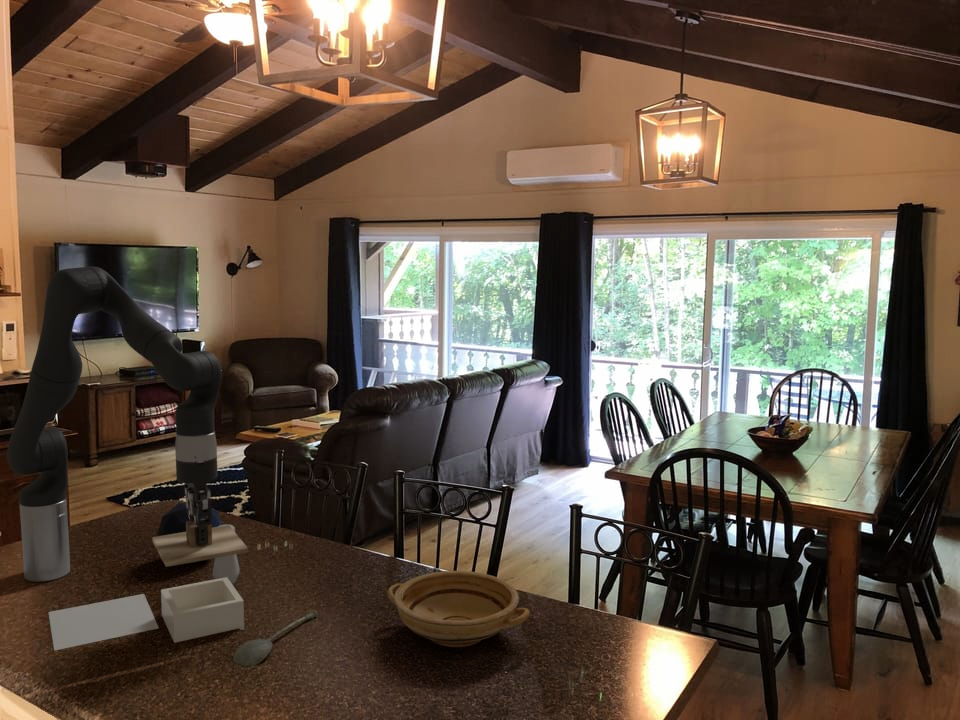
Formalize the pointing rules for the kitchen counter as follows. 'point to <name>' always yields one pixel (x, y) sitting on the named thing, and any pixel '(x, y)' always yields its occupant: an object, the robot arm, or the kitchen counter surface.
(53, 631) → the tray
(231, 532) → the lid
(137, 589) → the kitchen counter surface
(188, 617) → the white open box
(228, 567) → the salt shaker
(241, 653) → the soupspoon
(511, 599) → the ceramic bowl
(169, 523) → the decorative orb
